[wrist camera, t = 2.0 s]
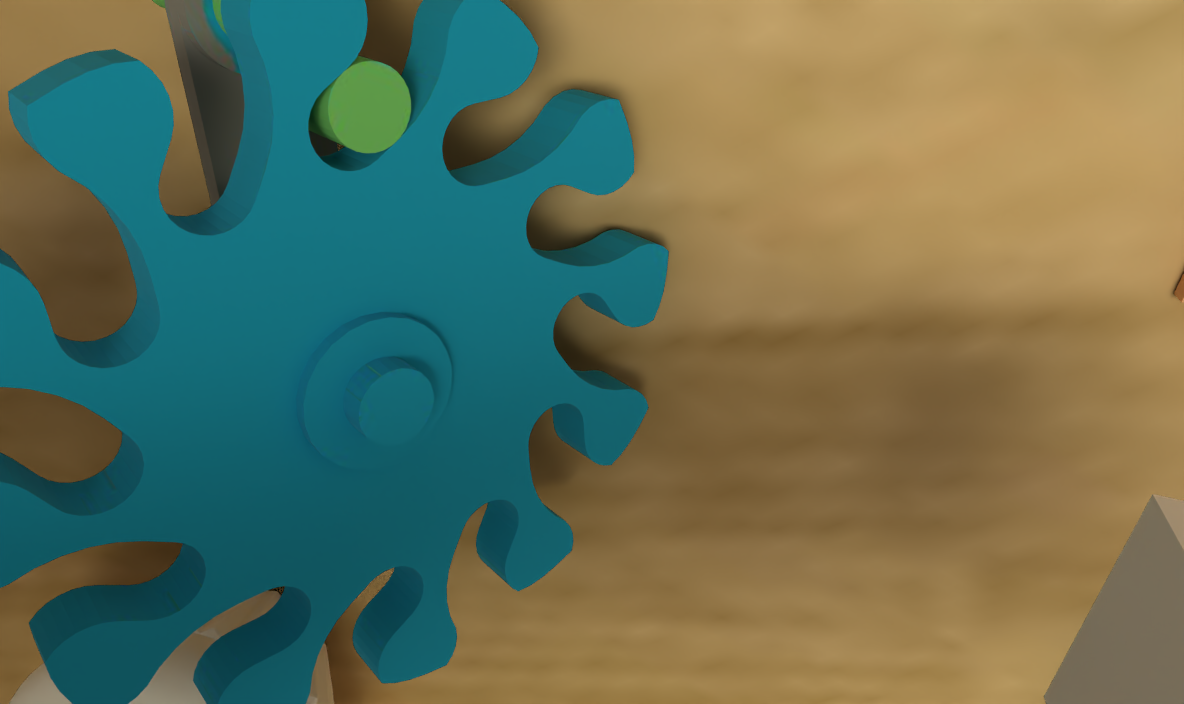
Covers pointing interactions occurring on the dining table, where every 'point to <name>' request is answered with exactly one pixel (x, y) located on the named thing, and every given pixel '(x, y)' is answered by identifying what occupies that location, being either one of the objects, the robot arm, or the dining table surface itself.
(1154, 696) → the robot arm
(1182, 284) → the pad
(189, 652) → the white rounded lump
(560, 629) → the dining table surface
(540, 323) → the gear
